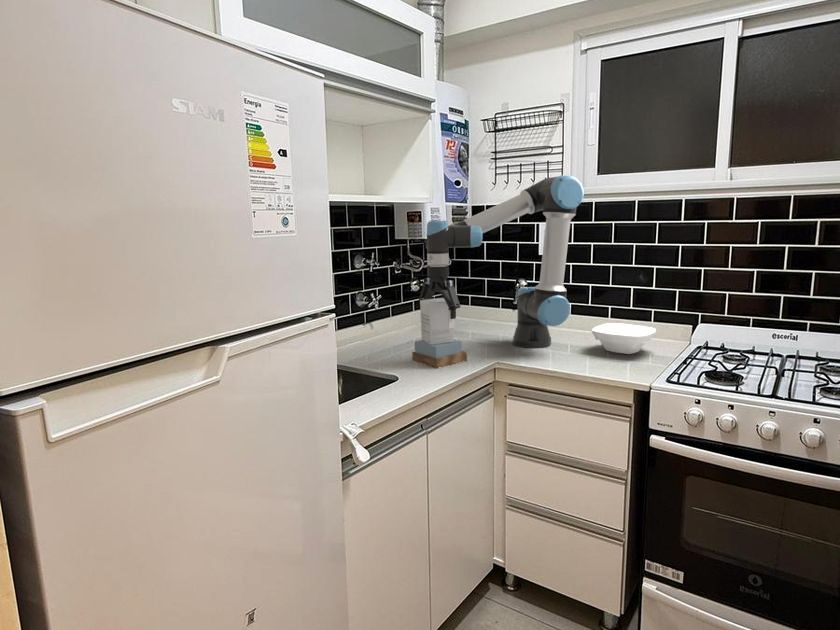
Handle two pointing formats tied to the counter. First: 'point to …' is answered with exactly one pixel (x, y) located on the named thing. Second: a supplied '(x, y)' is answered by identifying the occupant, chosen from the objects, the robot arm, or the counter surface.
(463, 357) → the tower base
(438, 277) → the robot arm
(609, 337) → the bowl
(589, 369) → the counter surface
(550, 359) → the counter surface
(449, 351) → the tower top
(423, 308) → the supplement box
